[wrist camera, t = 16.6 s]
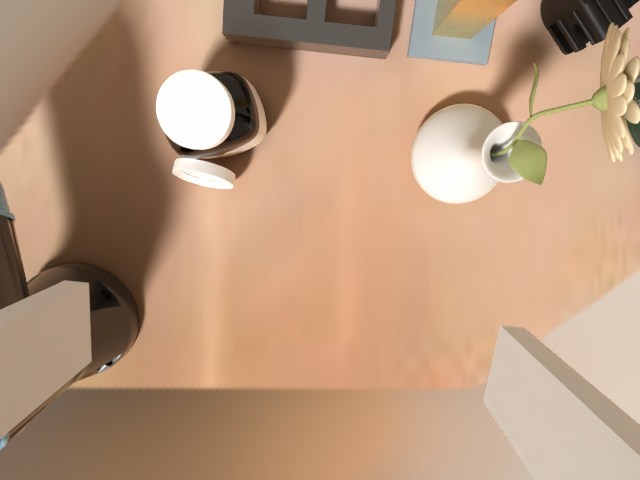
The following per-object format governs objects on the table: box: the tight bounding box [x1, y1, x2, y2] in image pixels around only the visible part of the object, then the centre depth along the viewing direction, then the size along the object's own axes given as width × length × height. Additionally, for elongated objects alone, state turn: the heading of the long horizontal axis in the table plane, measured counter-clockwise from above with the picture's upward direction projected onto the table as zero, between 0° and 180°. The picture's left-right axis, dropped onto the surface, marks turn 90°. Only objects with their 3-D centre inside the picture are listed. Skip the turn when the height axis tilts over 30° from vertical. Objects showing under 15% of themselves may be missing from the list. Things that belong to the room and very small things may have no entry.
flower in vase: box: [411, 22, 640, 204], centre depth 31 cm, size 13×11×25 cm
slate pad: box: [407, 0, 496, 65], centre depth 40 cm, size 9×9×1 cm
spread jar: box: [156, 69, 267, 189], centre depth 38 cm, size 12×11×12 cm
